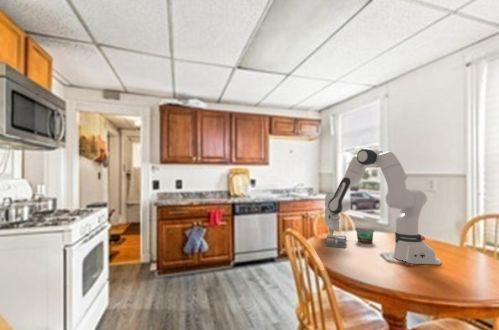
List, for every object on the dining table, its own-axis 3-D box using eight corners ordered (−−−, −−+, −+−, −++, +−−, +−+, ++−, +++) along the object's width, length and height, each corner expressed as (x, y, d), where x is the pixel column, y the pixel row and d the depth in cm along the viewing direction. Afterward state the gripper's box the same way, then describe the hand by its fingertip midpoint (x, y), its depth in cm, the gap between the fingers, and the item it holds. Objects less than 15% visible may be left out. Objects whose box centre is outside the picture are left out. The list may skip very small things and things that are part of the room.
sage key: (345, 238, 194) (345, 234, 194) (345, 239, 190) (345, 236, 190) (338, 237, 195) (338, 234, 196) (338, 239, 191) (338, 235, 191)
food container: (356, 243, 183) (356, 228, 184) (355, 241, 189) (355, 227, 190) (376, 244, 180) (375, 229, 180) (374, 242, 186) (374, 227, 186)
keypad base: (346, 238, 198) (346, 235, 198) (346, 248, 172) (346, 244, 172) (327, 236, 203) (327, 233, 203) (325, 246, 176) (325, 243, 176)
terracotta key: (334, 242, 183) (334, 238, 183) (333, 244, 179) (333, 240, 179) (327, 241, 185) (327, 238, 185) (327, 243, 180) (326, 239, 180)
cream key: (334, 237, 196) (334, 233, 196) (334, 238, 192) (334, 235, 192) (328, 236, 198) (328, 233, 198) (328, 238, 194) (328, 234, 194)
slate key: (345, 241, 181) (345, 237, 181) (345, 242, 177) (345, 238, 177) (338, 240, 182) (338, 236, 182) (337, 242, 178) (337, 238, 178)
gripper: (322, 212, 206) (322, 230, 205) (331, 217, 185) (332, 237, 185) (330, 212, 206) (330, 230, 206) (340, 217, 186) (341, 237, 185)
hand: (331, 234), depth 195 cm, fingers closed, pressing on cream key
